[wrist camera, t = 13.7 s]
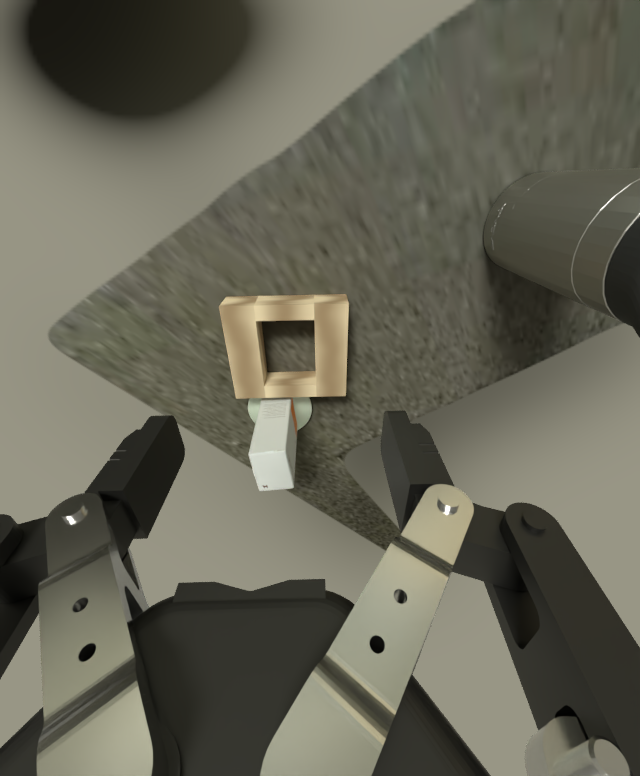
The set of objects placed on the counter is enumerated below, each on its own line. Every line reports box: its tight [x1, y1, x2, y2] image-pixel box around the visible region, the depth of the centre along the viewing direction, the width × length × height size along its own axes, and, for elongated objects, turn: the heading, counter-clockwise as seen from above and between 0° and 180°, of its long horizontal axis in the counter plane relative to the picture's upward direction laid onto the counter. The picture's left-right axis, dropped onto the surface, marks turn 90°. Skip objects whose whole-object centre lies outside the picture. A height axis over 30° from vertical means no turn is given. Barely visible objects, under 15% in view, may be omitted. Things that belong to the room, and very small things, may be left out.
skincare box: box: [249, 397, 298, 491], centre depth 41 cm, size 6×4×12 cm
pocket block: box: [219, 294, 349, 399], centre depth 40 cm, size 14×12×4 cm
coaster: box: [248, 397, 312, 430], centre depth 46 cm, size 9×9×1 cm
